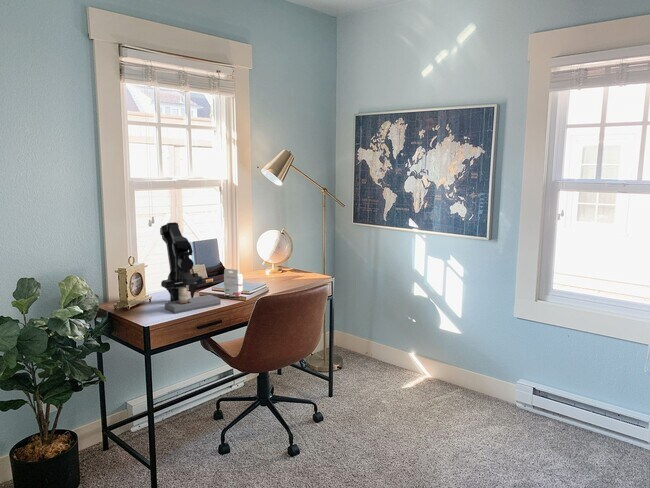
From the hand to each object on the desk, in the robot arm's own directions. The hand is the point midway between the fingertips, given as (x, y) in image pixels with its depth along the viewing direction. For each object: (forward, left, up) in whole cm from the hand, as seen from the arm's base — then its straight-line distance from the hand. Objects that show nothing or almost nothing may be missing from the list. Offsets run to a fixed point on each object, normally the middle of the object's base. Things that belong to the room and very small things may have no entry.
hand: (183, 299), depth 247 cm
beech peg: (0, 0, -4) cm, 4 cm away
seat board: (-3, +4, -4) cm, 7 cm away
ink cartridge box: (-24, +19, -5) cm, 31 cm away
